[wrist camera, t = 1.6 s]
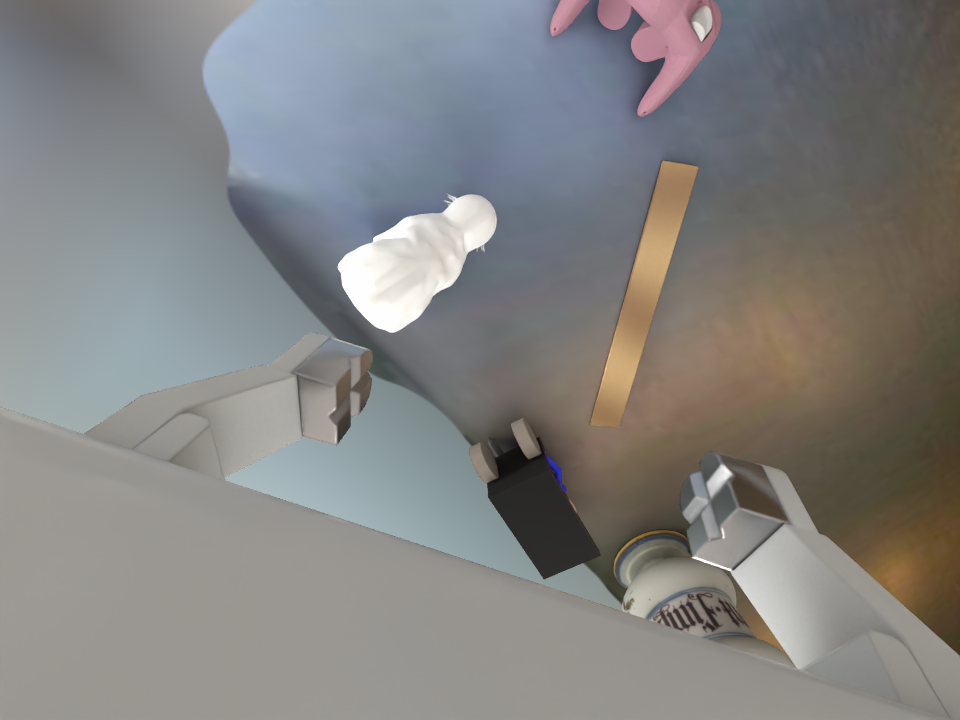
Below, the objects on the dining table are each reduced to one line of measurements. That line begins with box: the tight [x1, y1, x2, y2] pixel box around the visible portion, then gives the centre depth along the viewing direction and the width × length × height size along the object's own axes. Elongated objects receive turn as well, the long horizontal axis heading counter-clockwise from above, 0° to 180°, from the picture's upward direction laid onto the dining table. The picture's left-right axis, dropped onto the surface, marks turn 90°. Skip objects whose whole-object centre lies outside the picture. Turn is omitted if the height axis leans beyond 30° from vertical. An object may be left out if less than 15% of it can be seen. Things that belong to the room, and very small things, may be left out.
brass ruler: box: [590, 161, 699, 427], centre depth 36 cm, size 24×3×1 cm, turn 172°
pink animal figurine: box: [550, 0, 721, 116], centre depth 26 cm, size 10×5×7 cm, turn 56°
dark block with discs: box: [469, 418, 601, 579], centre depth 39 cm, size 7×8×15 cm
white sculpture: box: [338, 194, 497, 332], centre depth 29 cm, size 6×8×12 cm
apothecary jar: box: [614, 530, 795, 668], centre depth 40 cm, size 12×12×18 cm
